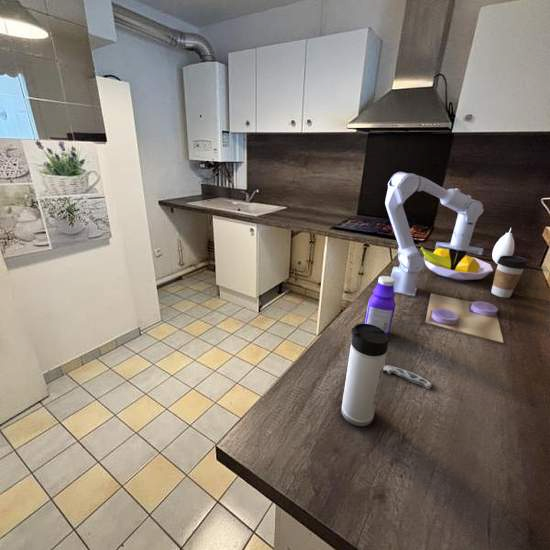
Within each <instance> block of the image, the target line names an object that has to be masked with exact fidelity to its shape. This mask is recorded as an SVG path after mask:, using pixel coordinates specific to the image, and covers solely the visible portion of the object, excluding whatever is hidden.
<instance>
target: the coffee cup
mask: <svg viewBox="0 0 550 550" xmlns="http://www.w3.org/2000/svg"><path fill="white" fill-rule="evenodd" d="M497 263H498V264H497V266H496V268H495V273H494V277H493V282H492V287H491V292H490V293H491V294H492V295H494V296H496V297H500V298H506V299H507V298H511V296H512V295H513V292H514V290H515V288H516V286H517V285H518V283H519V281H520V279H521V277H522V275H523V271H524V270H525V269H526V268H527V263H528V259H527V258H525V257H522V256H518V255H512V256H500V258H499V260H498V262H497Z"/></svg>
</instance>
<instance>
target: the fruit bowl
mask: <svg viewBox="0 0 550 550" xmlns="http://www.w3.org/2000/svg"><path fill="white" fill-rule="evenodd" d="M420 250H421V251H422V255H423V259H424V260H425V266H426V268H427V269H428V270H430V271H432V272H433V273H435V274H437V275H438V276H440V277H441V276H442V277H445V278H449V279H453V280H456V281H474V280H482V279H483V278H485V277H486V276H488V275H490V274H491V273H492V272H494V268H493V267H492V265H491V264H490V263H488V262H486V261H484V260H482V259H479V258H477V257H474V256H469V255H467V254H466V255H465V257H464V258H463V259H462V260H461V261H460V262H459V263H458V265H457V267H456V268H455V270H450V268H451V259H450V255H449V249H442V248H435V250H434V251H433V252H432V251H429V250H426V249H425V248H424V247H420ZM456 256H457V255H456ZM455 260H456V258H455ZM454 263H455V261H454Z"/></svg>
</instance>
